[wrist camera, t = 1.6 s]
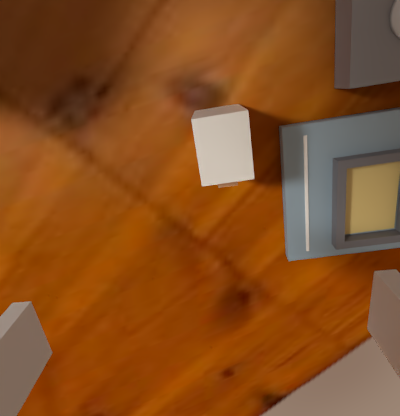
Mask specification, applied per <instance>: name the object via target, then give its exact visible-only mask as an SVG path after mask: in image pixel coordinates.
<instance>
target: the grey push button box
mask: <svg viewBox="0 0 400 416" xmlns="http://www.w3.org/2000/svg"><path fill="white" fill-rule="evenodd" d="M395 81H400V0H336V15H335V88H340V89H352V88H358V87H364V86H371V85H377V84H383V83H389V82H395Z"/></svg>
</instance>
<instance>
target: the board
mask: <svg viewBox="0 0 400 416" xmlns="http://www.w3.org/2000/svg"><path fill="white" fill-rule="evenodd" d="M279 136H280V155H281V173H282V192H283V210H284V228H285V247H286V256H287V258H288V261H293V260H301V259H310V258H318V257H326V256H334V255H343V254H351V253H359V252H367V251H376V250H384V249H392V248H400V107H398V108H391V109H385V110H379V111H372V112H366V113H359V114H353V115H346V116H340V117H333V118H327V119H321V120H314V121H308V122H301V123H295V124H288V125H282V126H279Z"/></svg>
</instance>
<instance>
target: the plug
mask: <svg viewBox="0 0 400 416" xmlns="http://www.w3.org/2000/svg"><path fill="white" fill-rule="evenodd" d="M191 121H192V127H193V134H194V140H195V146H196V152H197V158H198V165H199V171H200V177H201V183H202V186H209V185H216V184H218V188H221V187H228V186H235V185H238V182H237V181H244V180H251V179H254V168H253V157H252V145H251V134H250V123H249V112H248V110H247V109H246V108H244V107H242V106H241V105H239V104H234V105H228V106H222V107H216V108H210V109H203V110H197V111H194V114H193V116H192V119H191Z"/></svg>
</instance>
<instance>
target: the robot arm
mask: <svg viewBox="0 0 400 416" xmlns="http://www.w3.org/2000/svg"><path fill="white" fill-rule="evenodd" d="M367 329H368V331H369V332H370V334H371V335H372V337H373V338H374V340H375V341H376V343H377V344H378V346H379V347H380V349H381V350H382V352H383V353H384V355H385V356H386V358H387V360H388V361H389V363H390V364H391V365H392V367H393V369H394V370H395V372H396V373H397V375H398V376H399V378H400V273H399V272H398V271H397V270H396V269H394V270H382V271H374V277H373V285H372V294H371V302H370V311H369V319H368V327H367ZM51 354H52V351H51V348H50V346H49V343H48V341H47V339H46V336H45V334H44V331H43V329H42V327H41V324H40V322H39V319H38V317H37V315H36V312H35V310H34V307H33V305H32V303H31V301H29V302H18V303H12V304H11V305H10V306H9V307H8V309H7V310H6V311H5V312H4V313H3V314H2V315H1V317H0V416H17V414H18V412H19V411H20V409H21V407H22V405H23V404H24V402H25V400H26V398H27V397H28V395H29V393H30V391H31V390H32V388H33V386H34V384H35V383H36V381H37V379H38V377H39V376H40V374H41V372H42V370H43V368H44V367H45V365H46V363H47V361H48V360H49V358H50V356H51Z"/></svg>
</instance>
